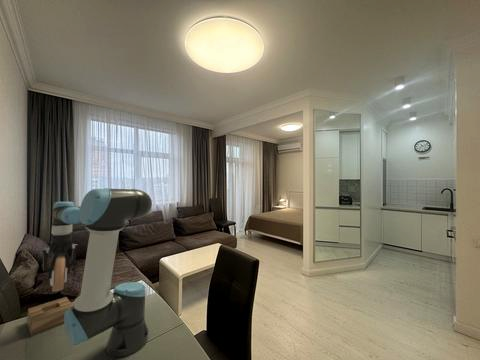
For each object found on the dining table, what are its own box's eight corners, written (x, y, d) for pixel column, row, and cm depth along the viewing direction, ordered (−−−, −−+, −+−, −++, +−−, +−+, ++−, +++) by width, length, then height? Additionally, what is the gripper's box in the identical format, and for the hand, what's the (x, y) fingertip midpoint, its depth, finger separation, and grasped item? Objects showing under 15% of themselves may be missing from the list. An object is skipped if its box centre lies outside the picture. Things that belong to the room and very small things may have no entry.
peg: (64, 289, 94) (66, 257, 95) (53, 292, 91) (55, 259, 92) (62, 286, 96) (64, 255, 97) (51, 290, 93) (53, 257, 94)
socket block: (72, 320, 96) (73, 305, 97) (31, 336, 85) (32, 319, 86) (65, 310, 105) (66, 296, 105) (27, 324, 94) (28, 308, 94)
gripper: (81, 230, 104) (78, 275, 103) (35, 235, 91) (31, 287, 89) (85, 231, 100) (82, 279, 98) (38, 237, 86) (33, 292, 85)
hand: (58, 282), depth 94 cm, fingers closed on peg, 4 cm apart
